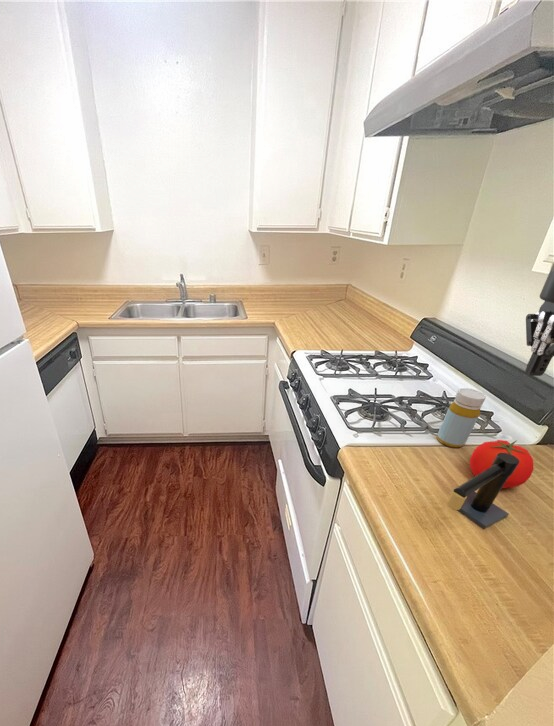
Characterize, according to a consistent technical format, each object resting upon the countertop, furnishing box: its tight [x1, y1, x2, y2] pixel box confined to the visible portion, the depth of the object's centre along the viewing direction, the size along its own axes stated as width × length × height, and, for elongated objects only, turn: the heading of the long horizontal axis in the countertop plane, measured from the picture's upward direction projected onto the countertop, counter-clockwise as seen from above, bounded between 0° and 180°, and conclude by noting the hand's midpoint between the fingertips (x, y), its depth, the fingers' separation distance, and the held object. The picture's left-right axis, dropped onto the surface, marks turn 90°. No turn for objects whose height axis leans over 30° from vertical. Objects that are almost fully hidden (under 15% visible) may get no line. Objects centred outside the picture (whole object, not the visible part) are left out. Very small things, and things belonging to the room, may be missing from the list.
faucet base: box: [457, 474, 510, 530], centre depth 72 cm, size 8×8×11 cm
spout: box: [446, 453, 519, 511], centre depth 65 cm, size 18×4×5 cm, turn 122°
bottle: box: [436, 387, 487, 449], centre depth 93 cm, size 7×7×15 cm
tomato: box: [469, 439, 534, 489], centre depth 80 cm, size 12×12×10 cm
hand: (533, 374), depth 63 cm, fingers closed
